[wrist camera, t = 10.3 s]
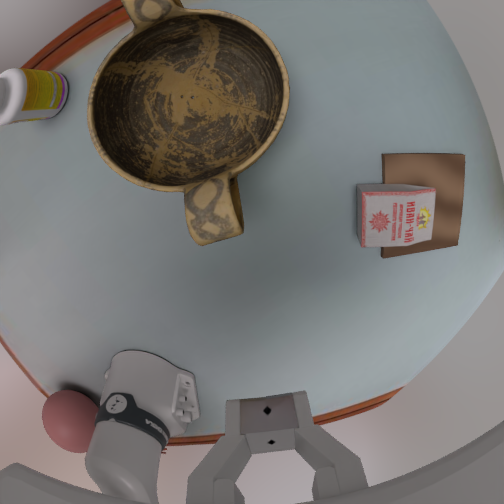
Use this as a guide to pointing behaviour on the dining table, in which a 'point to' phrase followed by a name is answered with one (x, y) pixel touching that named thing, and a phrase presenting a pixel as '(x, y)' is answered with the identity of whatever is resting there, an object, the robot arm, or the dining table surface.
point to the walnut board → (446, 199)
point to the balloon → (70, 420)
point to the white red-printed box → (394, 214)
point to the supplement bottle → (30, 95)
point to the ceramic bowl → (189, 108)
